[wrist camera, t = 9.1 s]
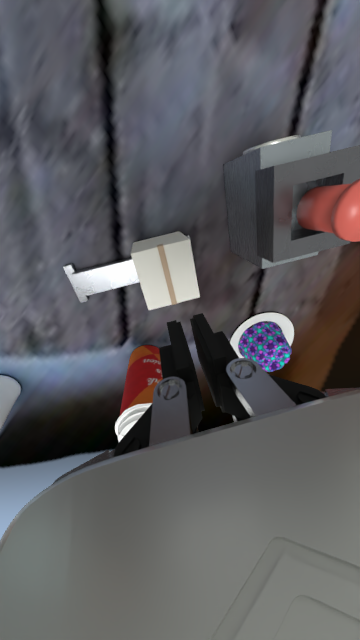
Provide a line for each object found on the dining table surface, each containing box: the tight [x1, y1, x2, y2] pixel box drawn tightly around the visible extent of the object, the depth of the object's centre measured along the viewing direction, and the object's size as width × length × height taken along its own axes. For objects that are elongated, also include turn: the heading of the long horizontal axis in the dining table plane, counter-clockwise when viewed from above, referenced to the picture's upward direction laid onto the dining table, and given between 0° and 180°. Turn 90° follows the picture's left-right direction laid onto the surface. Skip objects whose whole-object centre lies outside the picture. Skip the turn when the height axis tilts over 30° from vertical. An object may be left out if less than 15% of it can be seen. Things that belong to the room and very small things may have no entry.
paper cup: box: [115, 345, 163, 442], centre depth 30 cm, size 8×8×14 cm
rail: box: [63, 235, 196, 302], centre depth 28 cm, size 5×16×2 cm, turn 102°
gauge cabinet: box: [223, 130, 360, 269], centre depth 22 cm, size 10×7×12 cm
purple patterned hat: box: [230, 312, 294, 372], centre depth 36 cm, size 12×12×5 cm
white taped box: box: [131, 231, 200, 310], centre depth 26 cm, size 6×6×7 cm
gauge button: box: [296, 179, 360, 242], centre depth 15 cm, size 4×4×5 cm
